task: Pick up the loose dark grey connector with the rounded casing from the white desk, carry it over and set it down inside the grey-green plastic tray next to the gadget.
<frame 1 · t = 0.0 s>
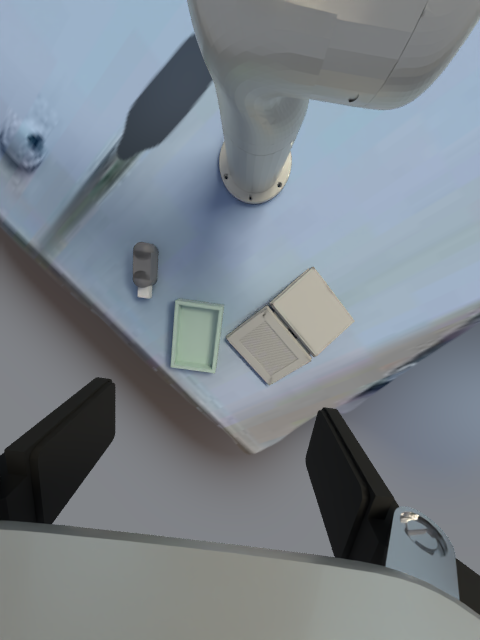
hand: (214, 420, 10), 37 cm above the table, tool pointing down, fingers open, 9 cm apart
gadget: (288, 327, 48), on the table
connector: (149, 265, 44), on the table
tray: (198, 334, 48), on the table
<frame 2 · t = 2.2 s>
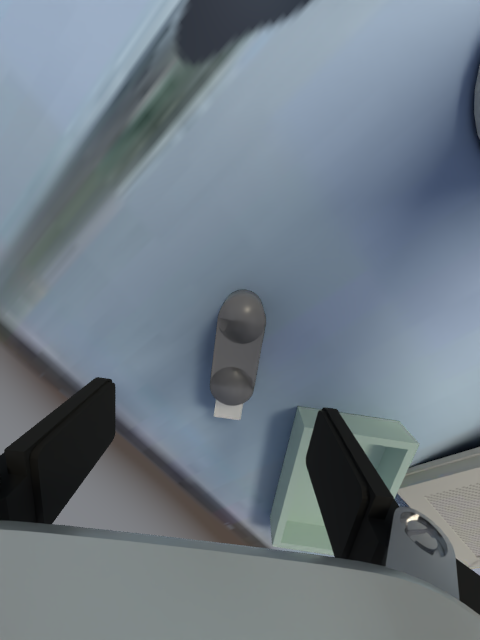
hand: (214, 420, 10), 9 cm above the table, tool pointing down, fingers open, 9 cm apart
connector: (238, 337, 19), on the table
tray: (328, 473, 22), on the table
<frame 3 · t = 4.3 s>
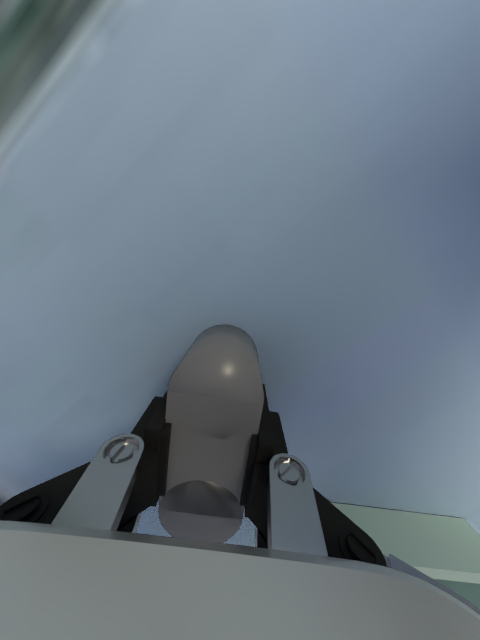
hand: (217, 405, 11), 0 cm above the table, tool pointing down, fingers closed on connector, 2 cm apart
connector: (218, 401, 11), on the table, touching gripper
tray: (356, 588, 15), on the table
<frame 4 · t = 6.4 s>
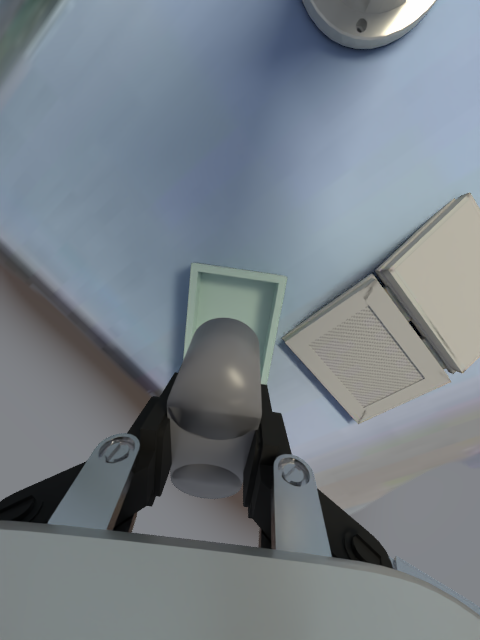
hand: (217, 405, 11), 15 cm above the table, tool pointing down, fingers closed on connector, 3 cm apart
gadget: (396, 319, 26), on the table
connector: (221, 383, 12), point 14 cm above the table, tilted 16°, touching gripper
tray: (231, 331, 26), on the table
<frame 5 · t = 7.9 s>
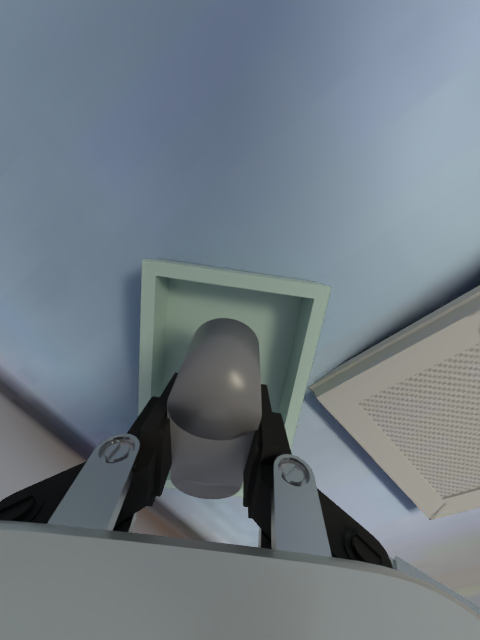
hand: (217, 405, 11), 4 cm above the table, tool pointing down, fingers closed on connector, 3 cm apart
connector: (220, 383, 12), point 3 cm above the table, tilted 16°, touching gripper
tray: (224, 376, 15), on the table
when the fingers open (3 cm above the table, at t = 8.8 s): connector drops 1 cm, resting on tray.
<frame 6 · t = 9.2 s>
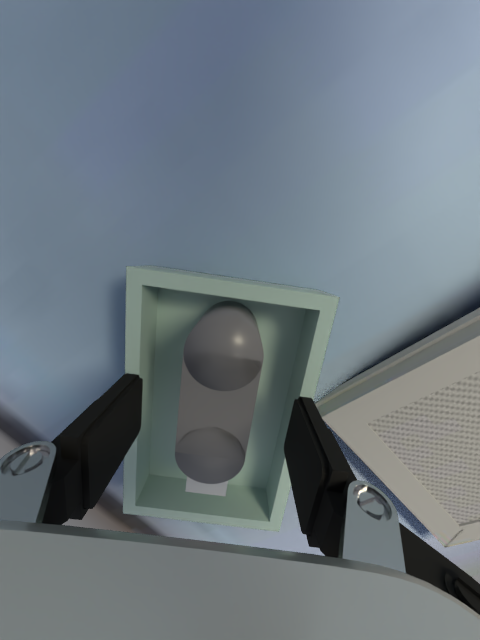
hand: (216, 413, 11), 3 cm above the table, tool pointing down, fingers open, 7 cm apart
connector: (223, 369, 13), point 1 cm above the table, touching tray
tray: (220, 392, 14), on the table
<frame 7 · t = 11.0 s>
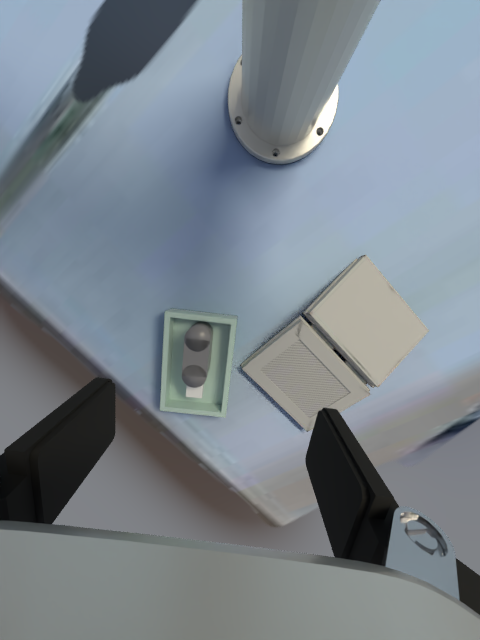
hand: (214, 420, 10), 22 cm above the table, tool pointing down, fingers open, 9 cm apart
gadget: (329, 346, 33), on the table
connector: (200, 349, 32), point 1 cm above the table, touching tray
tray: (200, 359, 33), on the table
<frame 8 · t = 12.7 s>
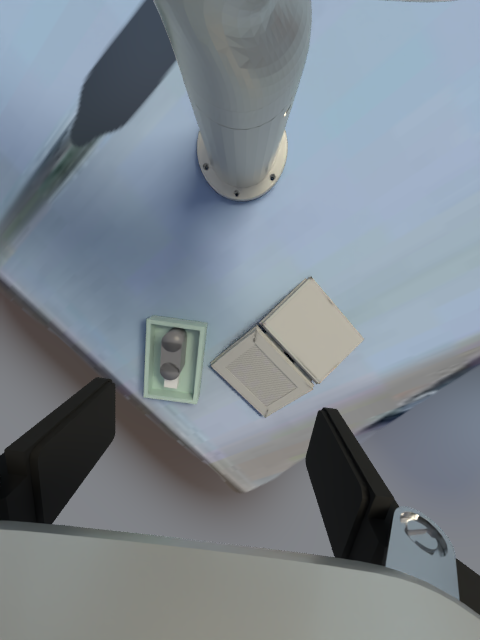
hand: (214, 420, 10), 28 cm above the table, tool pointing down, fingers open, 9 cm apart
gadget: (284, 349, 40), on the table
connector: (177, 348, 39), point 1 cm above the table, touching tray
tray: (177, 357, 40), on the table
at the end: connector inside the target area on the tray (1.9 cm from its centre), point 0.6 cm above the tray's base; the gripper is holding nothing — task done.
